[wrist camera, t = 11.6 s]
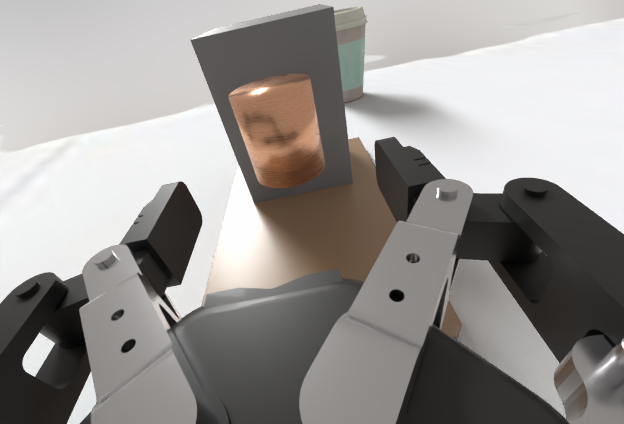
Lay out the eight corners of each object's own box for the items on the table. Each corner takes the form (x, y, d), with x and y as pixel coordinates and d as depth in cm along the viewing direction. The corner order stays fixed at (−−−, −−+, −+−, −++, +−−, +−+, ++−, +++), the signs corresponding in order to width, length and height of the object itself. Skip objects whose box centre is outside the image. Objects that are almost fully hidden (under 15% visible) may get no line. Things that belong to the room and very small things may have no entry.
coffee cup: (381, 90, 47) (379, 2, 40) (347, 109, 43) (337, 15, 36) (343, 87, 53) (335, 9, 45) (310, 103, 49) (295, 21, 41)
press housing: (458, 336, 14) (549, -3, 6) (194, 382, 15) (-73, 135, 6) (359, 147, 33) (346, -3, 24) (242, 171, 33) (189, 33, 25)
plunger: (329, 179, 16) (313, 87, 13) (254, 194, 16) (221, 107, 13) (310, 105, 27) (299, 46, 24) (265, 115, 27) (249, 58, 24)
